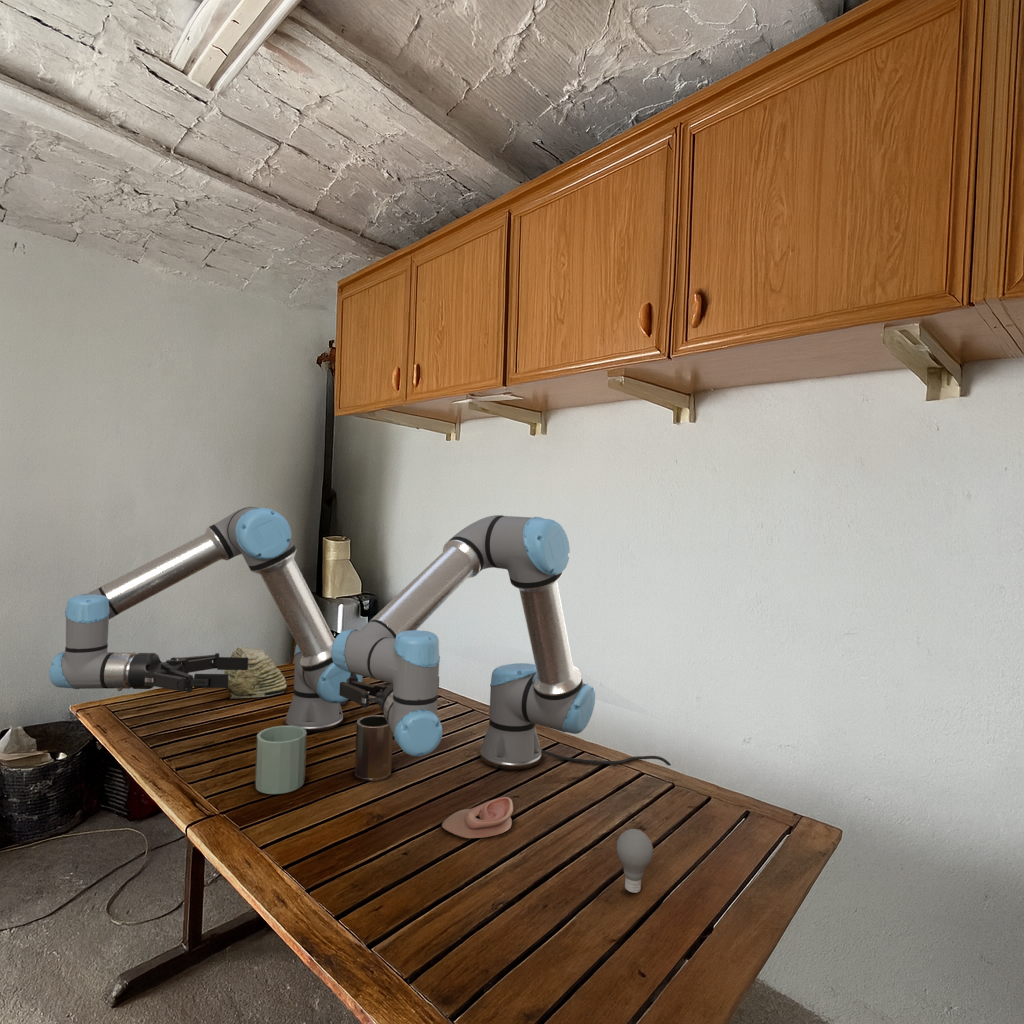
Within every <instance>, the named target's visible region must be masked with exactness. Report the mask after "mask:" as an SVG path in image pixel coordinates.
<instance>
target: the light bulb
mask: <svg viewBox="0 0 1024 1024" xmlns="http://www.w3.org/2000/svg"><path fill="white" fill-rule="evenodd" d="M615 849H616V854H617V857H618V859H619V861H620V863H621V865H622V867H623V873H624V874H623V875H624V876H625V878H624V888H625V890H627V891H628V892H630V893H634V894H635V893H639V892H640V891H641V889H642V887H641V886H642V879H643V877H644V875H645V871H646V868H647V867H648V866H649V864H650V863H651V861H652V859H653V855H654V847H653V843H652V841H651V838H649V836H648V835H647V834H646V833H645V832H643V831H642V830H641V829H636V828H629V829H627V830H625V831H623V832H622V833H621V834H620V835H619V837H618V839H617V841H616V847H615Z"/></svg>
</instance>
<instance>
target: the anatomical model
mask: <svg viewBox="0 0 1024 1024" xmlns="http://www.w3.org/2000/svg"><path fill="white" fill-rule="evenodd" d="M513 812H514V803H513V800H512V799H511V798H510V797H508V796H501V797H497V798H493V799H491V800H487V801H485V802H483V803H481V804H479V805H477V806H474V807H472V808H464V809H461V810H458V811H456V812H454V813H452V814H451V815H449V816H448V817H447V818H445V819H444V820H443V822H442V824H441V827H442V828H443V829H444V830H445V831H447V832H448V833H451V834H453V835H455V836H458V837H460V838H465V839H480V838H481V839H482V838H488V837H495V836H498V835H501V834H503V833H505V832H507V831H509V830H510V829H511V828H512V825H513V821H512V818H511V816H512V814H513Z"/></svg>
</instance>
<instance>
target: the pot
mask: <svg viewBox="0 0 1024 1024" xmlns="http://www.w3.org/2000/svg"><path fill="white" fill-rule="evenodd" d="M307 737H308V732H306V730H305V729H303V728H301V727H298V726H286V725H277V726H276V725H275V726H271V727H267V728H264V729H262V730H261V731H259V732H258V733H257V734H256V739H255V740H256V741H255V768H254V769H255V771H254V788H255V789H256V790H257V792H260V793H262V794H267V795H281V794H287V793H290V792H294V791H296V790H298V789H300V788H302V787H303V785H304V784H305V779H306V765H307V763H306V761H307V739H308V738H307Z"/></svg>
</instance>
